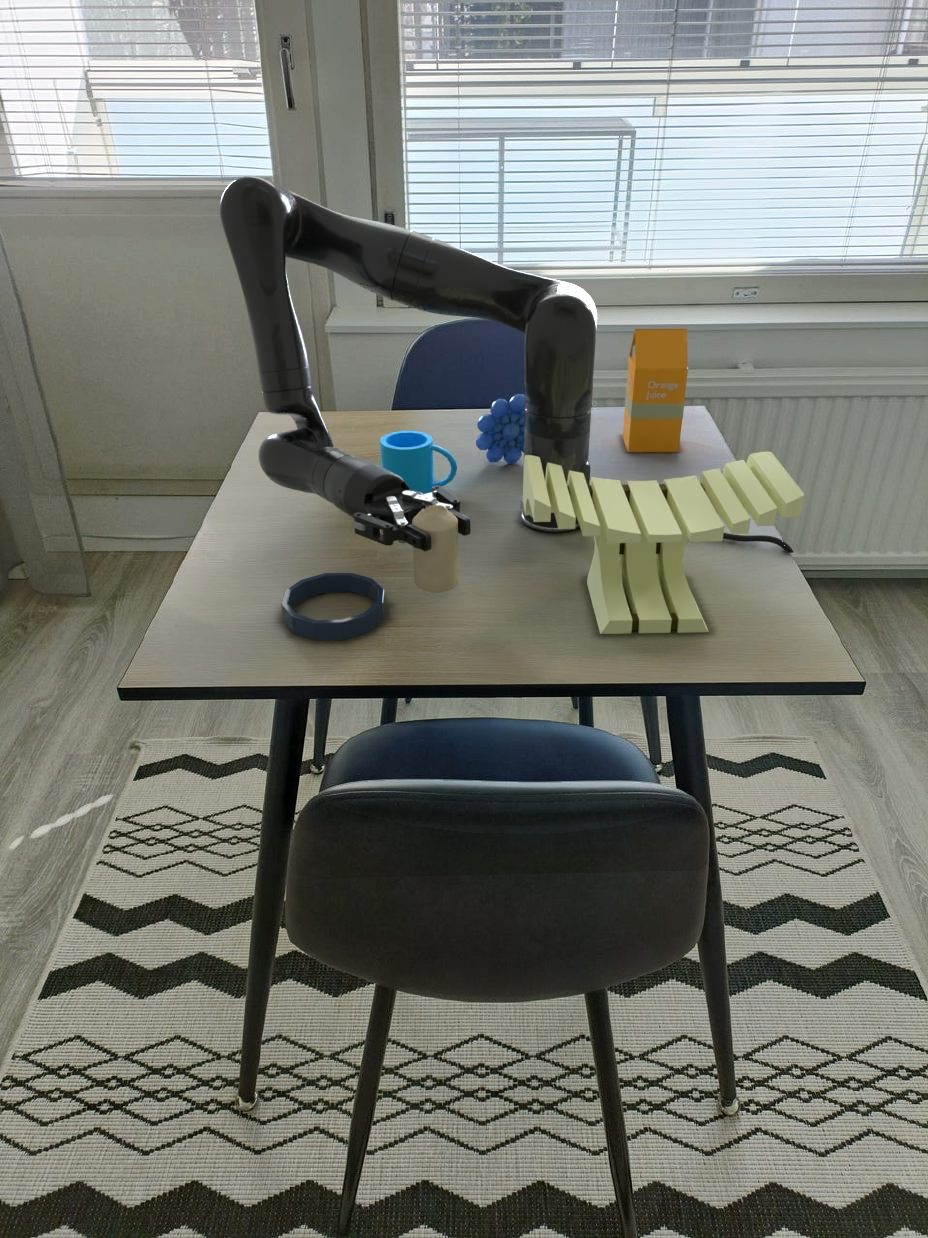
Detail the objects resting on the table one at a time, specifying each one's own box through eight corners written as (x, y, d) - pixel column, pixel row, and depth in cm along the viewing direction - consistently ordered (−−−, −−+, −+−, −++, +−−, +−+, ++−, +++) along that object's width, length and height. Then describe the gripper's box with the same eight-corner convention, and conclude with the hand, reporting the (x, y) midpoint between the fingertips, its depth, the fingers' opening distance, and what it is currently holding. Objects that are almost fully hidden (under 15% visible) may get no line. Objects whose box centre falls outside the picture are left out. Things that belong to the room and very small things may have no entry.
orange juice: (679, 452, 165) (692, 334, 155) (627, 452, 165) (637, 335, 155) (671, 435, 172) (683, 322, 161) (621, 435, 172) (630, 322, 161)
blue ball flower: (543, 453, 165) (545, 385, 159) (546, 468, 159) (548, 398, 153) (475, 454, 165) (475, 385, 159) (476, 469, 159) (475, 399, 153)
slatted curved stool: (743, 568, 129) (763, 442, 120) (778, 630, 116) (804, 494, 106) (521, 571, 129) (524, 446, 120) (530, 635, 115) (534, 498, 106)
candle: (452, 595, 118) (452, 521, 112) (409, 590, 119) (406, 517, 113) (462, 573, 122) (462, 502, 117) (420, 569, 123) (418, 498, 118)
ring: (386, 588, 125) (385, 571, 124) (381, 639, 115) (380, 621, 114) (291, 590, 125) (289, 573, 124) (278, 641, 115) (275, 623, 113)
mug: (377, 497, 150) (374, 447, 146) (389, 477, 157) (387, 429, 153) (452, 502, 148) (451, 452, 144) (461, 481, 155) (461, 433, 151)
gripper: (317, 479, 120) (400, 524, 109) (407, 450, 128) (494, 490, 117) (321, 533, 124) (402, 582, 113) (409, 502, 132) (492, 545, 121)
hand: (448, 535), depth 115 cm, fingers closed on candle, 5 cm apart
